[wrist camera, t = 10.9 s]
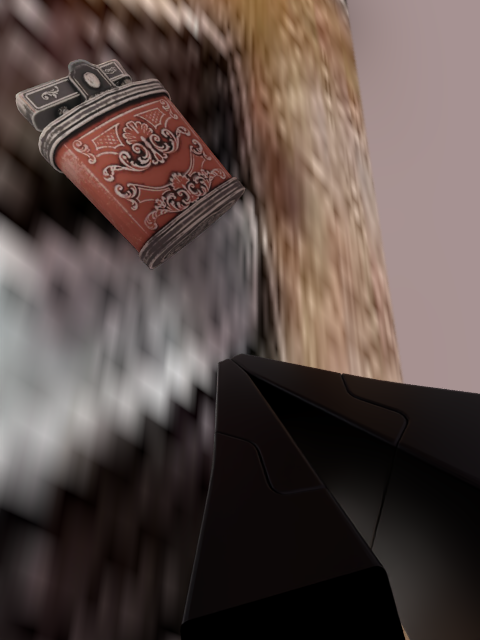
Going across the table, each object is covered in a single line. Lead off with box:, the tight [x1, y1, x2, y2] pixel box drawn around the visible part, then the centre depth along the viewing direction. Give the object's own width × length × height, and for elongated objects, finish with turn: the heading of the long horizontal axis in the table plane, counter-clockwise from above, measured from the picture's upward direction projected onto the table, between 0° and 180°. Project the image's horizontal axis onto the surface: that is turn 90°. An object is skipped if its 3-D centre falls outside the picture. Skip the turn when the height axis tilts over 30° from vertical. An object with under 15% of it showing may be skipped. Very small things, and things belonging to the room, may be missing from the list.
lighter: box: [16, 59, 245, 269], centre depth 15 cm, size 8×3×10 cm
